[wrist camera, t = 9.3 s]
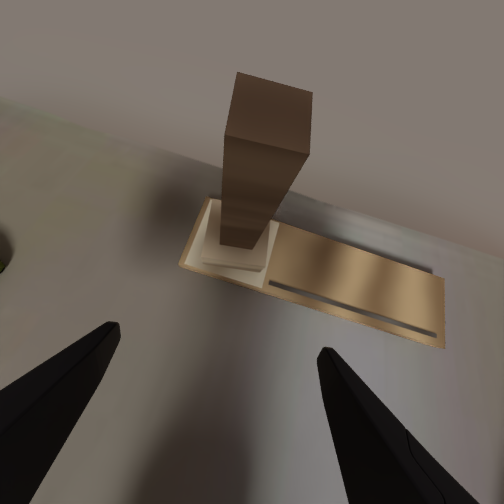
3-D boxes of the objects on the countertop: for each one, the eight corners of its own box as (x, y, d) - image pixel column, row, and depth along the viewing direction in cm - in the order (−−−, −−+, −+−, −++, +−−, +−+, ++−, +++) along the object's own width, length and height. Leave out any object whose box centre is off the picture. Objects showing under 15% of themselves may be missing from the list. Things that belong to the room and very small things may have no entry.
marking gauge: (259, 272, 18) (346, 196, 6) (202, 264, 18) (171, 159, 5) (265, 212, 20) (344, 58, 8) (214, 202, 20) (212, 18, 7)
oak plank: (432, 280, 23) (445, 278, 22) (432, 346, 21) (446, 348, 19) (206, 202, 21) (206, 195, 20) (180, 267, 19) (177, 264, 17)
